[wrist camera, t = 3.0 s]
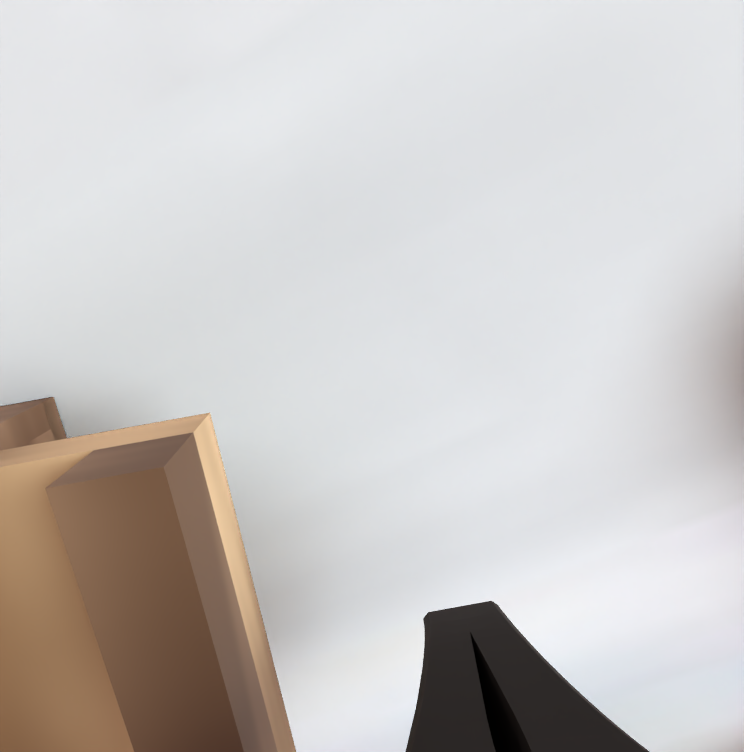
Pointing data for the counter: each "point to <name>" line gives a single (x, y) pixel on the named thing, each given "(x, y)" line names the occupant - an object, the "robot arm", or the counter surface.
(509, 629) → the robot arm
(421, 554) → the counter surface
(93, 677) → the lid
